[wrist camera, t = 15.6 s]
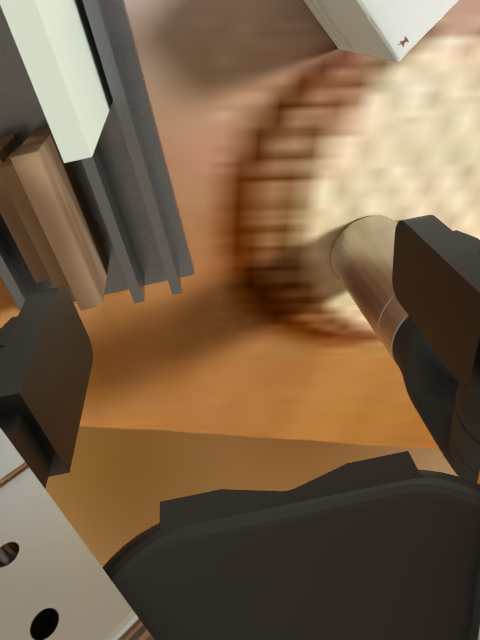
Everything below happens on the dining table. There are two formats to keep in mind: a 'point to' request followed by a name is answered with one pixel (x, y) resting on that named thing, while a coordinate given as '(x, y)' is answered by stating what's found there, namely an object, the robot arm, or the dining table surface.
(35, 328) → the robot arm
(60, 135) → the tall sheet
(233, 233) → the dining table surface
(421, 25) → the supplement box
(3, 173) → the offcut bundle
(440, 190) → the dining table surface
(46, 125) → the rack
